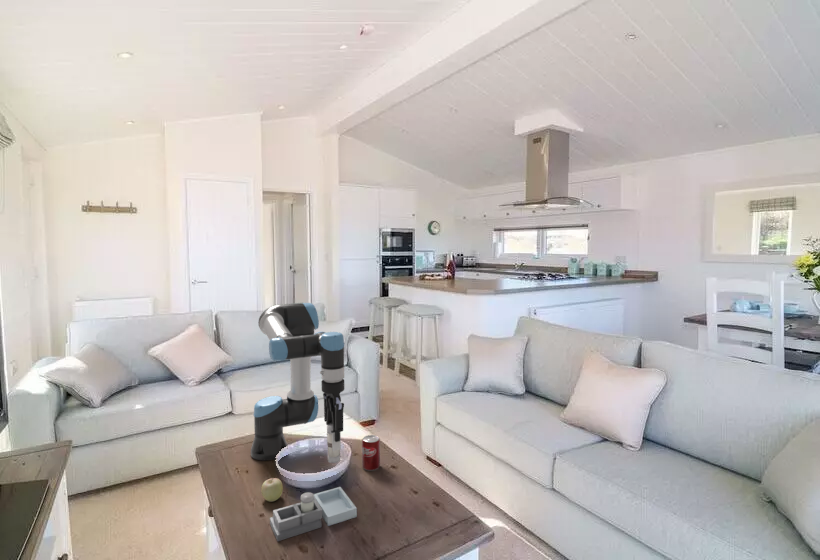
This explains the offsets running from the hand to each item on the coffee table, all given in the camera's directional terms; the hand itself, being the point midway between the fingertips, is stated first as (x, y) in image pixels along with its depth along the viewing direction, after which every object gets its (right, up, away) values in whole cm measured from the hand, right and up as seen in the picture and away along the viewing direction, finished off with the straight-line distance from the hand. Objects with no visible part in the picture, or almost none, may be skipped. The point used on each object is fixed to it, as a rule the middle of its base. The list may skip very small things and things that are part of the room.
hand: (333, 446), depth 153 cm
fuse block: (-11, -23, -6) cm, 26 cm away
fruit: (-23, -22, +9) cm, 33 cm away
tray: (0, -22, +2) cm, 22 cm away
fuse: (0, -5, 0) cm, 5 cm away
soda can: (+10, -20, +31) cm, 38 cm away
